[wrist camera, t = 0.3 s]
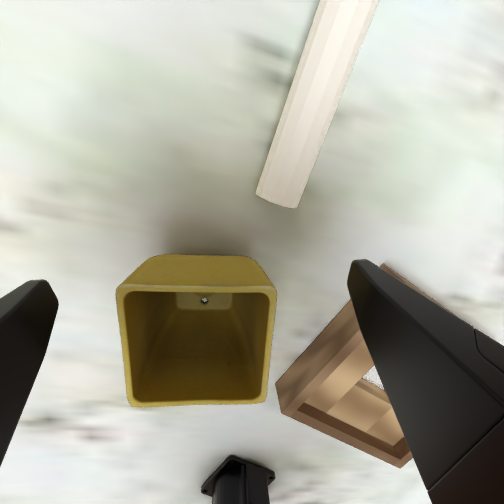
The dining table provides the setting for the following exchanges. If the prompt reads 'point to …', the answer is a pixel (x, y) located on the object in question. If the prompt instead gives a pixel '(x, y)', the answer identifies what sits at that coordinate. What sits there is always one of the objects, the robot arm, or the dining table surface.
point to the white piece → (314, 97)
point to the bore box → (344, 390)
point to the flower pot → (196, 331)
